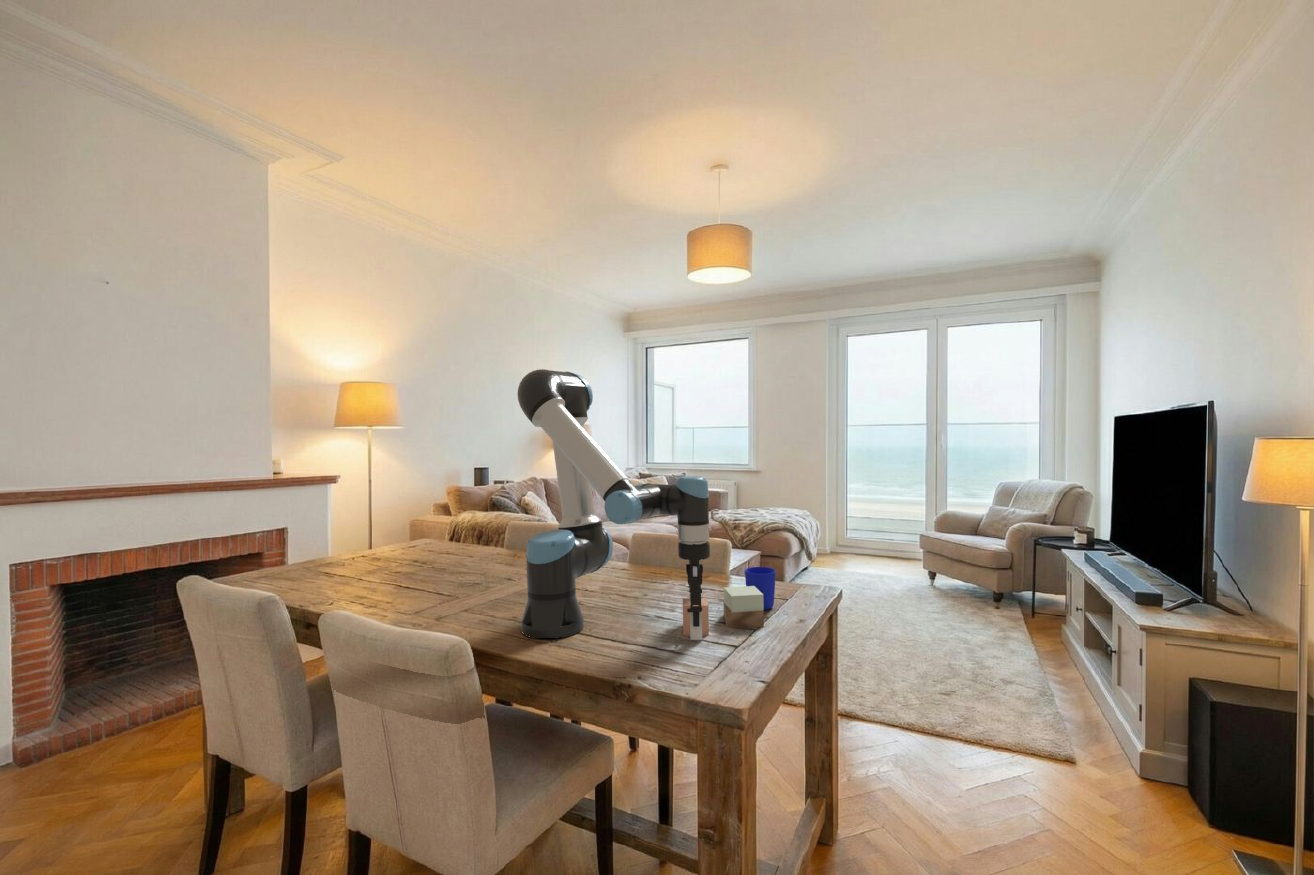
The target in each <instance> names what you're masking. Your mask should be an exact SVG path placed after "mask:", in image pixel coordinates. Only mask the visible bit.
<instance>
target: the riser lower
mask: <svg viewBox="0 0 1314 875" xmlns="http://www.w3.org/2000/svg"><path fill="white" fill-rule="evenodd" d="M723 618H724V622H725V625H726V626H725V627H726V628H739V627H740V628H755V627H756V628H758V627H761V628H763V627H765V624H764V623H765V622H764V619H765V618H764V611H751V612H733V613H732V612H731V611H730V610H729V609H728V607H727V606H726V605H725V603H724V602H723Z"/></svg>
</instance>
